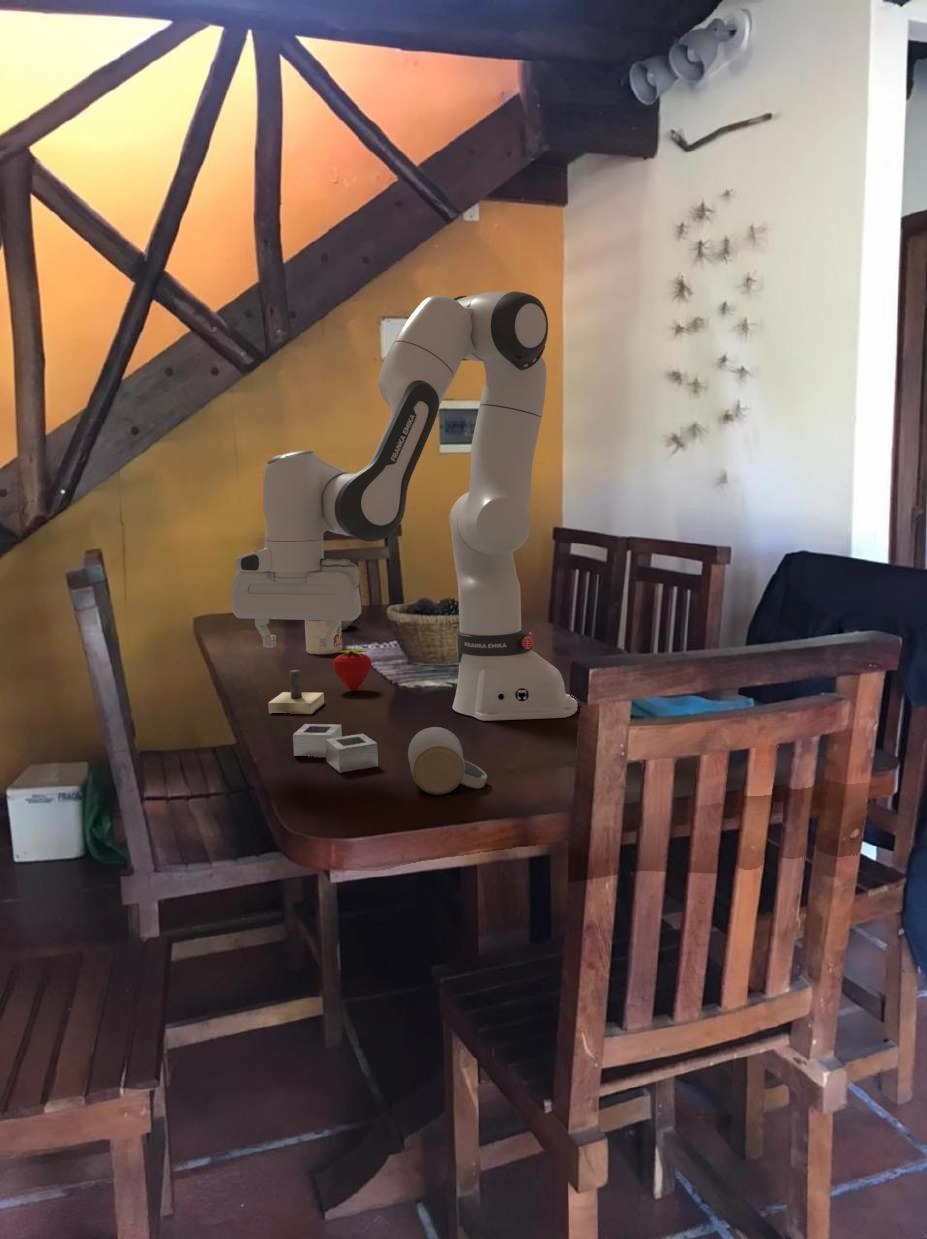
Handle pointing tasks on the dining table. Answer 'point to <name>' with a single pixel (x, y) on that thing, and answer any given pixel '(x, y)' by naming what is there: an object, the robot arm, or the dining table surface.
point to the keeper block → (296, 698)
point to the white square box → (351, 752)
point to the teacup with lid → (317, 631)
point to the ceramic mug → (441, 762)
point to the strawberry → (352, 667)
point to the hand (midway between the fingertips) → (297, 648)
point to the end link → (314, 739)
